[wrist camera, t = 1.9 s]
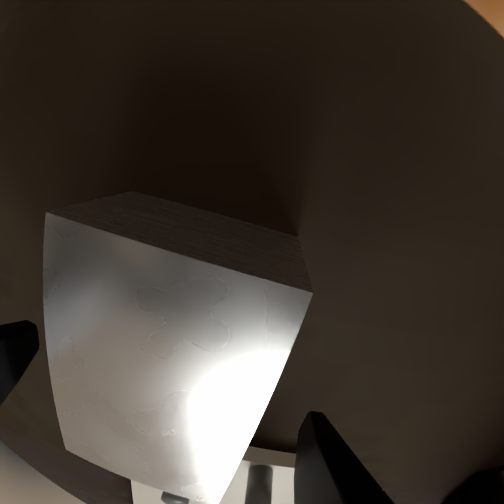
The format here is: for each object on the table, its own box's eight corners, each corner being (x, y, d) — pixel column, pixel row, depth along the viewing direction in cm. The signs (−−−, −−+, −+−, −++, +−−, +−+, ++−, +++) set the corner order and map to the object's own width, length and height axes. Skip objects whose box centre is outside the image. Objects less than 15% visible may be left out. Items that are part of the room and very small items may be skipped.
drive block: (297, 235, 11) (312, 292, 6) (233, 418, 13) (217, 505, 8) (135, 190, 11) (46, 212, 6) (114, 378, 13) (65, 449, 8)
